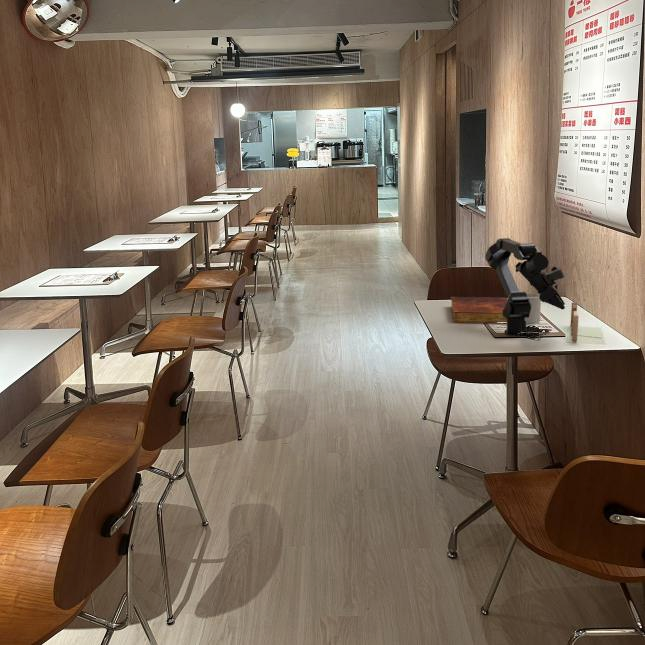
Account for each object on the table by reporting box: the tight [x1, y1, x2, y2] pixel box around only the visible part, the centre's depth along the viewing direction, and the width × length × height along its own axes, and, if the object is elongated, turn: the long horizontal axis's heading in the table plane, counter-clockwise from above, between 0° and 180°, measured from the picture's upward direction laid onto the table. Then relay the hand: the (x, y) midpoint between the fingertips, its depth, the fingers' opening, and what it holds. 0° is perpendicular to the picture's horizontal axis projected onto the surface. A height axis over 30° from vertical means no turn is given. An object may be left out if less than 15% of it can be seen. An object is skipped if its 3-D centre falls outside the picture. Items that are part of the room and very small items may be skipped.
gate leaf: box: [572, 311, 580, 341], centre depth 293 cm, size 2×9×9 cm, turn 164°
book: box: [450, 296, 508, 324], centre depth 334 cm, size 30×24×5 cm
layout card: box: [564, 325, 606, 345], centre depth 300 cm, size 14×25×1 cm, turn 164°
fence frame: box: [569, 301, 578, 335], centre depth 305 cm, size 2×16×10 cm, turn 164°
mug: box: [525, 292, 542, 325], centre depth 322 cm, size 12×8×11 cm
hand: (564, 306), depth 290 cm, fingers open, 6 cm apart
